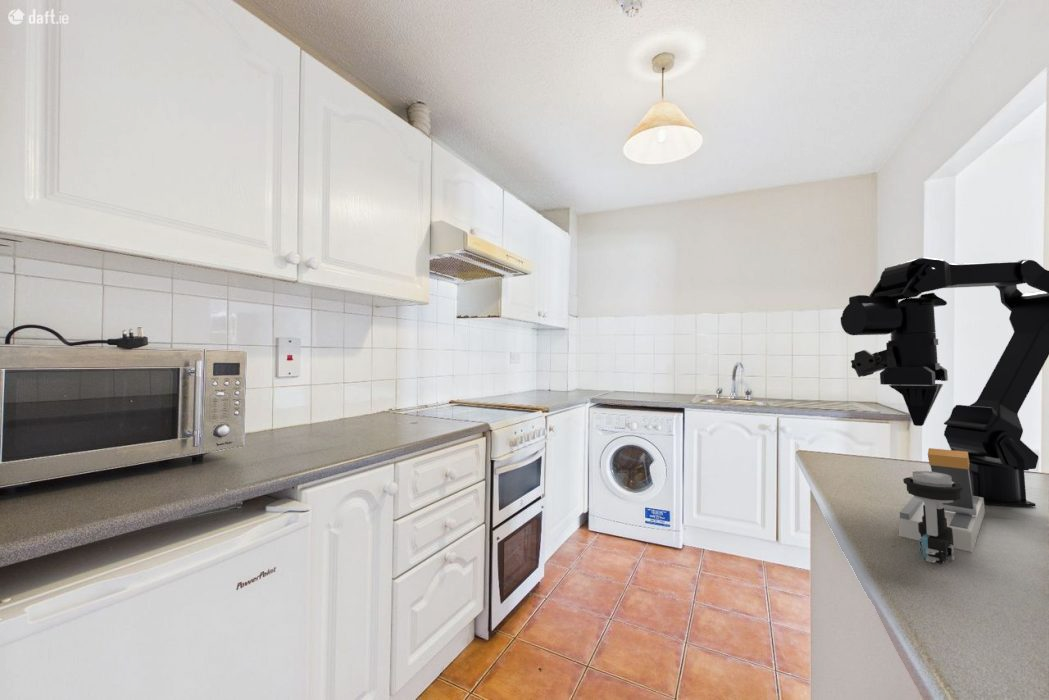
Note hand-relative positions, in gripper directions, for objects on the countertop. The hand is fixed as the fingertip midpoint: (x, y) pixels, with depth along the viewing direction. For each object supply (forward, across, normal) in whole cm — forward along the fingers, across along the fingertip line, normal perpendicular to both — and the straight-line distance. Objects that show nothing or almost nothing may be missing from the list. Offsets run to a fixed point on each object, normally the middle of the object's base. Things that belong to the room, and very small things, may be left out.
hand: (918, 425), depth 72 cm
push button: (+13, +26, +4) cm, 29 cm away
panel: (+13, +10, +4) cm, 17 cm away
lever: (+10, +13, +5) cm, 17 cm away
